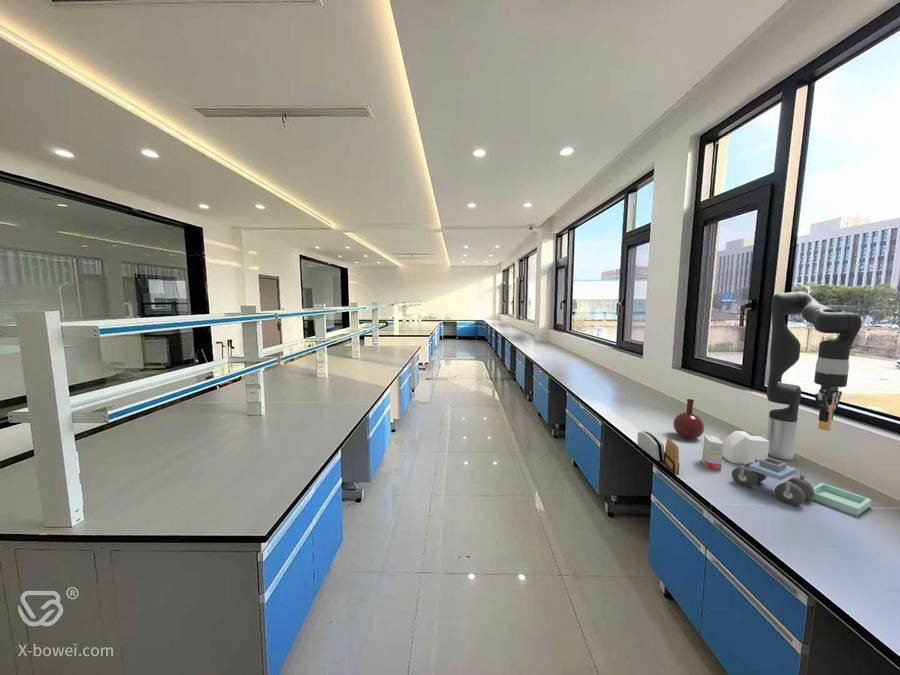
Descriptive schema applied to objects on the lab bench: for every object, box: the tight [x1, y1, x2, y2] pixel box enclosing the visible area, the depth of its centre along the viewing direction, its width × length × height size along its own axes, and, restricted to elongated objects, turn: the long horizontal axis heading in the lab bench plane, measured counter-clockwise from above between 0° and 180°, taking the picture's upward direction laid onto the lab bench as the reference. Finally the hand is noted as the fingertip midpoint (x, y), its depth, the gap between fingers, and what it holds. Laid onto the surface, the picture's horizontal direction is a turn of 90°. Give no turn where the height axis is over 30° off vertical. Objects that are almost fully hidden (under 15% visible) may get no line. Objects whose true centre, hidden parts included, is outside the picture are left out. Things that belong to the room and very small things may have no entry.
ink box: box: [701, 434, 723, 471], centre depth 147 cm, size 9×5×12 cm, turn 156°
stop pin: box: [818, 401, 833, 431], centre depth 119 cm, size 3×3×11 cm
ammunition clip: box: [662, 436, 680, 475], centre depth 144 cm, size 11×2×12 cm, turn 168°
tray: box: [808, 482, 872, 518], centre depth 120 cm, size 12×12×3 cm
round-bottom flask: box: [672, 398, 705, 440], centre depth 176 cm, size 13×13×20 cm
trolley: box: [731, 456, 814, 507], centre depth 126 cm, size 12×20×12 cm, turn 27°
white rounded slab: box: [637, 430, 665, 462], centre depth 157 cm, size 17×5×10 cm, turn 179°
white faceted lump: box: [722, 430, 769, 465], centre depth 150 cm, size 11×11×12 cm
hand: (825, 420), depth 119 cm, fingers closed on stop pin, 2 cm apart
